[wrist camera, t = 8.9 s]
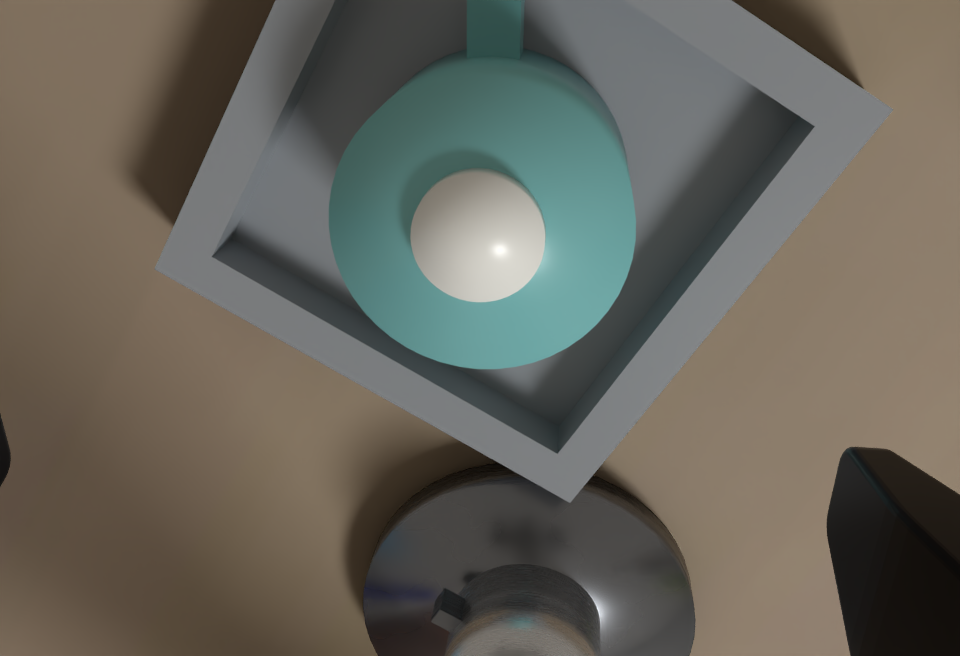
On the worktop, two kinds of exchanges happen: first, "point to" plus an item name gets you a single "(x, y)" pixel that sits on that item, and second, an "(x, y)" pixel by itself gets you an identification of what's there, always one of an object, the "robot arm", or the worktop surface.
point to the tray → (654, 180)
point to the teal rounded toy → (486, 203)
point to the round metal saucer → (526, 573)
